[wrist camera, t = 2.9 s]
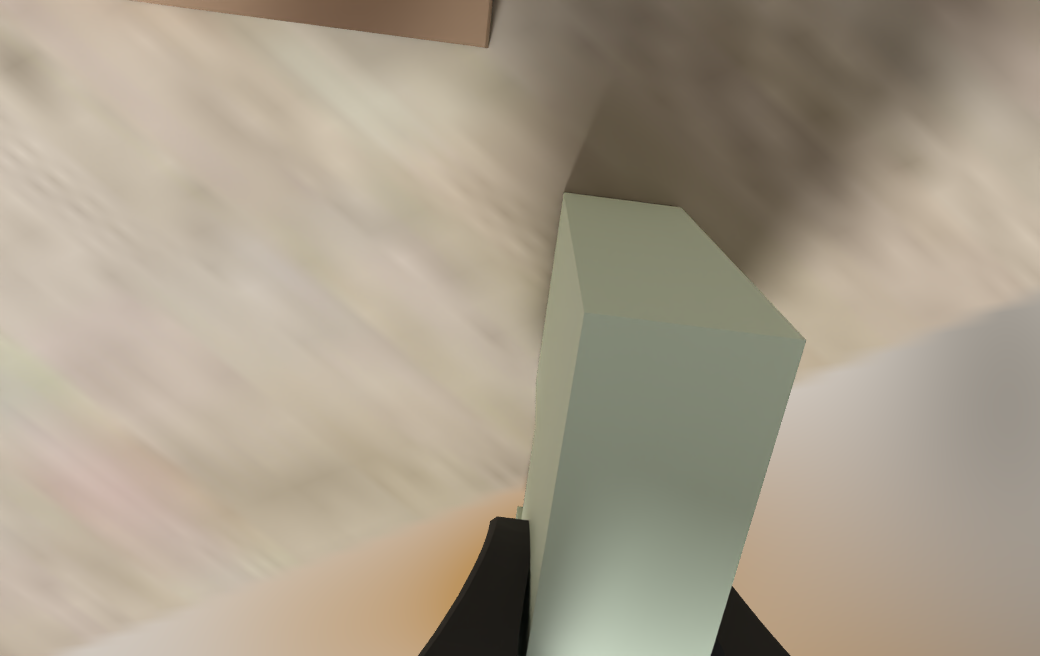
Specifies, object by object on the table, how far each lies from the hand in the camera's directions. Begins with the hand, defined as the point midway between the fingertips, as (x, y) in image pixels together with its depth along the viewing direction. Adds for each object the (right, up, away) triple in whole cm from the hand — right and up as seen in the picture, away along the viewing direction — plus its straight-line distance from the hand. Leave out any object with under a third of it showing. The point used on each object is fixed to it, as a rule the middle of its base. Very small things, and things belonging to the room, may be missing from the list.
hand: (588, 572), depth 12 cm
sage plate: (0, +2, +4) cm, 4 cm away
